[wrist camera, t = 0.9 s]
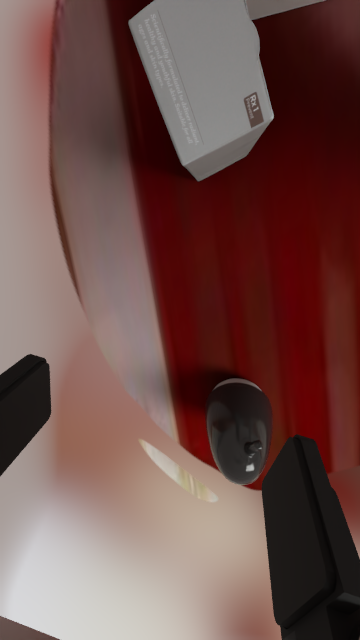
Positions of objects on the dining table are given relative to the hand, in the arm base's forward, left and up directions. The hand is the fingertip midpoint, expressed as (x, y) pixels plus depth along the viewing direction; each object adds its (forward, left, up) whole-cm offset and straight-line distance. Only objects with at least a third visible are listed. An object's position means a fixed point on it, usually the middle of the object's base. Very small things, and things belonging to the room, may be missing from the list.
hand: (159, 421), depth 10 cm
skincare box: (-1, -15, -28) cm, 32 cm away
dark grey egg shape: (-3, +22, -28) cm, 36 cm away
